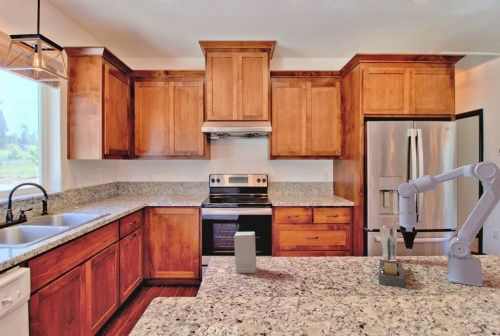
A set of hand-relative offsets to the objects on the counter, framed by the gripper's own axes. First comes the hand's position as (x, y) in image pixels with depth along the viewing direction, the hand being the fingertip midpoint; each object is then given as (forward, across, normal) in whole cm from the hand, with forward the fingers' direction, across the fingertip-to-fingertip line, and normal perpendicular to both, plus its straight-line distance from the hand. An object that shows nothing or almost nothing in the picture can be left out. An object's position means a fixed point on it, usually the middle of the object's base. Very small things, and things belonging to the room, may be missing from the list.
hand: (408, 246), depth 108 cm
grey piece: (+10, +9, -6) cm, 15 cm away
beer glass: (+10, -12, -7) cm, 17 cm away
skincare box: (+10, +27, -60) cm, 67 cm away
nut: (+10, +14, -7) cm, 18 cm away
